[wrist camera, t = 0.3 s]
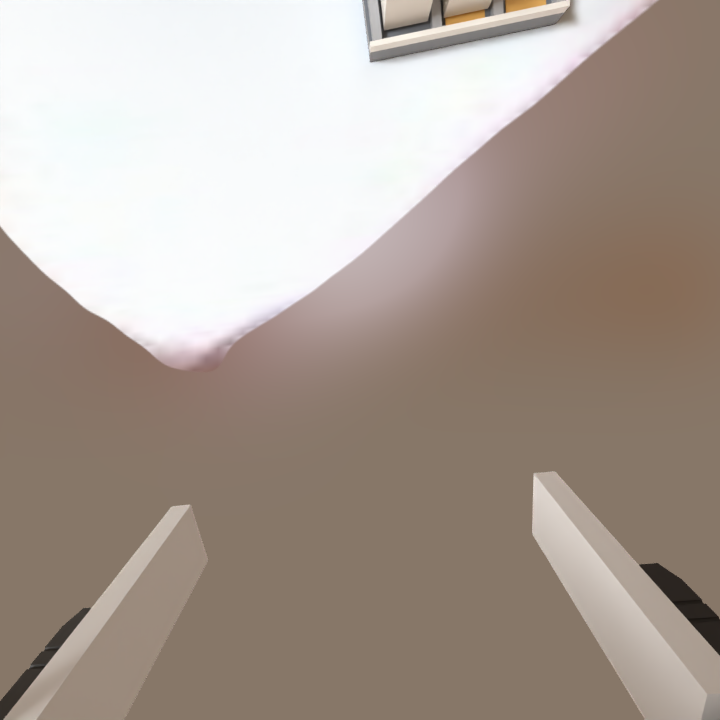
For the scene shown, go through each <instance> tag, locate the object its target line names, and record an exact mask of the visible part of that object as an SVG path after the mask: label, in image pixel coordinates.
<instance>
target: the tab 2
mask: <svg viewBox="0 0 720 720" xmlns="http://www.w3.org/2000/svg"><path fill="white" fill-rule="evenodd" d="M491 1H492V0H442V2H443V15H444V18H446V17H450V16H455V15H460V14H464V13H469V12H474V11H479V10H483V9H488V8H489V6H490V4H491Z"/></svg>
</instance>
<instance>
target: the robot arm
mask: <svg viewBox="0 0 720 720" xmlns="http://www.w3.org/2000/svg"><path fill="white" fill-rule="evenodd" d="M532 534H533V536H534V537H535V539H536V541H537V542H538V544H539V546H540V547H541V549H542V551H543V552H544V554H545V556H546V557H547V559H548V560H549V562H550V564H551V565H552V567H553V569H554V570H555V572H556V574H557V575H558V577H559V579H560V580H561V582H562V584H563V585H564V587H565V589H566V590H567V592H568V594H569V595H570V597H571V598H572V600H573V602H574V603H575V605H576V607H577V608H578V610H579V612H580V613H581V615H582V616H583V618H584V620H585V621H586V623H587V625H588V626H589V628H590V630H591V631H592V633H593V635H594V636H595V638H596V640H597V641H598V643H599V645H600V646H601V648H602V649H603V651H604V653H605V654H606V656H607V658H608V659H609V661H610V663H611V664H612V666H613V668H614V669H615V671H616V673H617V674H618V676H619V677H620V679H621V680H622V682H623V684H624V686H625V687H626V689H627V691H628V692H629V694H630V696H631V697H632V699H633V701H634V702H635V704H636V706H637V707H638V709H639V711H640V712H641V714H642V715H643V717H644V719H645V720H720V619H719V617H718V616H717V615H716V614H715V613H714V612H713V611H712V610H711V609H710V608H709V607H708V606H707V605H706V604H704V603H703V602H702V600H701V598H700V597H698V595H697V594H695V592H694V591H693V590H692V589H691V588H690V587H689V586H687V584H686V583H685V582H684V581H683V580H682V579H680V578H679V577H677V576H675V575H674V574H673V573H671V572H669V571H668V570H667V569H665V568H664V567H662V566H661V565H659V564H658V563H654V564H641V565H638V564H637V563H636V562H635V561H634V559H633V558H632V557H631V556H630V555H629V554H628V553H627V551H626V550H625V549H624V548H623V547H622V546H621V545H620V544H619V543H618V541H617V540H616V539H615V538H614V537H613V536H612V535H611V534H610V533H609V532H608V530H607V529H606V528H605V527H604V526H603V525H602V523H600V521H599V520H598V519H597V518H596V517H595V516H594V515H593V513H592V512H591V511H590V510H589V509H588V508H587V507H586V506H585V504H583V502H582V501H581V500H580V499H579V498H578V497H577V496H576V494H575V493H574V492H573V491H572V490H571V489H570V488H569V487H568V486H567V484H566V483H565V482H564V481H563V480H562V479H561V478H560V477H559V475H558V474H557V473H556V472H543V473H534V484H533V523H532ZM207 561H208V559H207V555H206V552H205V549H204V546H203V542H202V539H201V536H200V533H199V529H198V526H197V523H196V520H195V517H194V513H193V510H192V507H191V505H183V506H172V507H171V508H170V509H169V511H168V512H167V513H166V515H165V516H164V517H163V518H162V520H161V521H160V522H159V524H158V525H157V526H156V527H155V529H154V530H153V531H152V532H151V534H150V535H149V536H148V537H147V539H146V540H145V541H144V542H143V544H142V545H141V546H140V547H139V549H138V550H137V551H136V553H135V554H134V555H133V556H132V558H131V559H130V560H129V561H128V563H127V564H126V565H125V566H124V568H123V569H122V570H121V571H120V573H119V574H118V576H117V577H116V578H115V579H114V581H113V582H112V583H111V584H110V585H109V587H108V588H107V589H106V590H105V592H104V593H103V594H102V596H101V597H100V598H99V599H98V601H97V602H96V603H95V604H94V606H93V607H92V608H83V609H82V610H81V611H80V612H79V613H78V614H76V615H75V616H74V617H73V618H72V619H71V620H69V621H68V622H67V623H66V624H65V625H64V626H62V628H61V629H60V630H59V631H58V633H57V634H56V635H55V636H54V637H53V638H52V640H51V641H50V642H49V643H48V644H47V646H46V647H45V650H44V651H43V652H41V653H40V654H39V656H37V658H36V659H35V660H34V661H33V663H32V664H31V666H30V668H29V669H27V670H26V671H25V672H24V673H23V675H22V676H21V677H20V678H19V679H18V681H17V682H16V683H15V684H14V685H13V687H12V688H11V689H10V690H9V691H8V693H7V694H6V695H5V696H4V697H3V699H2V700H1V701H0V720H124V719H125V717H126V715H127V713H128V711H129V710H130V708H131V706H132V704H133V702H134V700H135V698H136V696H137V694H138V693H139V691H140V689H141V687H142V685H143V683H144V681H145V679H146V677H147V675H148V674H149V672H150V669H151V668H152V666H153V664H154V662H155V660H156V658H157V657H158V655H159V653H160V651H161V649H162V647H163V645H164V643H165V641H166V639H167V638H168V636H169V634H170V632H171V630H172V628H173V626H174V624H175V622H176V620H177V619H178V617H179V615H180V613H181V611H182V609H183V607H184V605H185V603H186V601H187V600H188V598H189V596H190V594H191V592H192V590H193V588H194V586H195V584H196V583H197V581H198V579H199V577H200V575H201V573H202V571H203V569H204V567H205V566H206V563H207Z"/></svg>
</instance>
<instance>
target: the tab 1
mask: <svg viewBox="0 0 720 720" xmlns="http://www.w3.org/2000/svg"><path fill="white" fill-rule="evenodd" d="M432 2H433V0H381V8H382V17H383V25H384V30H389V29H393V28H398V27H403V26H408V25H412V24H417V23H422V22H427V21H428V17H429V13H430V10H431V6H432Z"/></svg>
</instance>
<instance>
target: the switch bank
mask: <svg viewBox="0 0 720 720" xmlns="http://www.w3.org/2000/svg"><path fill="white" fill-rule="evenodd" d="M362 2H363V10H364V18H365V26H366V34H367V41H368V49H369V57H370V62H373V61H378V60H383V59H387V58H392V57H397V56H402V55H407V54H412V53H417V52H421V51H426V50H431V49H436V48H441V47H446V46H451V45H455V44H460V43H465V42H470V41H475V40H480V39H485V38H489V37H494V36H499V35H504V34H509V33H514V32H519V31H524V30H528V29H533V28H538V27H543V26H548V25H553V24H556V22H557V21H558V20H559V19H560V17H561V16H562V15H563V14H564V12H565V11H566V10H567V9H568V7H569V6H570V0H492V1H491V4H490V6H489V8H488V9H483V10H479V11H474V12H469V13H464V14H460V15H455V16H450V17H446V18H444V15H443V2H442V0H433V2H432V6H431V10H430V13H429V17H428V21H427V22H422V23H417V24H412V25H408V26H403V27H398V28H393V29H389V30H384V25H383V17H382V8H381V0H362Z"/></svg>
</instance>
